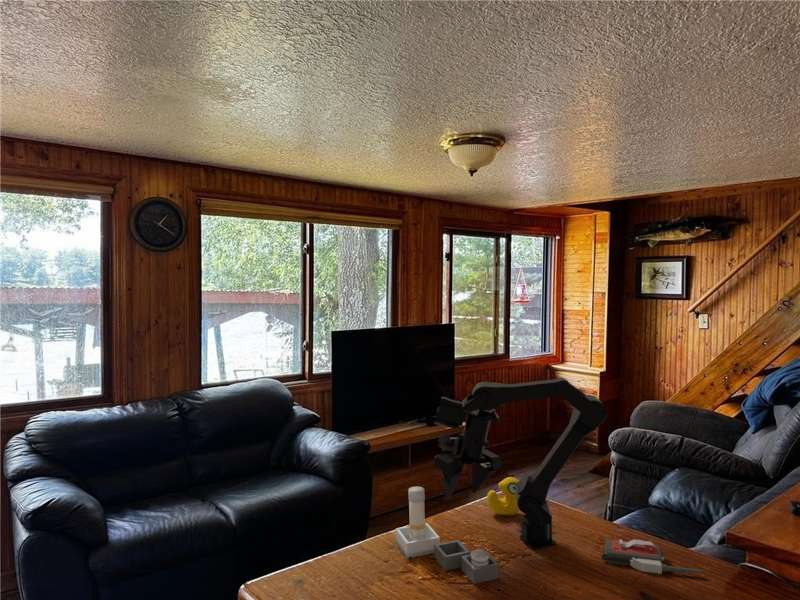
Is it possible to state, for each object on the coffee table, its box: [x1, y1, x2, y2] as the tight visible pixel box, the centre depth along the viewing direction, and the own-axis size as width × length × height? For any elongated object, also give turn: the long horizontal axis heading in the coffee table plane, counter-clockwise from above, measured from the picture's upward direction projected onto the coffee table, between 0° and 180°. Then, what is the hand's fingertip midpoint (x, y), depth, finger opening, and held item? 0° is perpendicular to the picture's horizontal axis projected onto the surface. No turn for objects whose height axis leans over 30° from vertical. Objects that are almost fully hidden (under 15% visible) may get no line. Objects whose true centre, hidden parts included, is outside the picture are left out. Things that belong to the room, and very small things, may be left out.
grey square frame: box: [434, 539, 471, 571], centre depth 125 cm, size 6×6×3 cm
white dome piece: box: [470, 548, 490, 568], centre depth 120 cm, size 4×4×4 cm
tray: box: [395, 522, 441, 559], centre depth 132 cm, size 8×8×4 cm
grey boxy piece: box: [460, 553, 501, 585], centre depth 120 cm, size 6×6×3 cm
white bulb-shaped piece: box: [407, 486, 426, 542], centre depth 132 cm, size 4×4×13 cm
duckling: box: [486, 476, 520, 516], centre depth 149 cm, size 11×5×10 cm, turn 88°
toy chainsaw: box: [600, 538, 703, 575], centre depth 123 cm, size 9×4×20 cm
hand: (460, 494), depth 136 cm, fingers open, 9 cm apart
